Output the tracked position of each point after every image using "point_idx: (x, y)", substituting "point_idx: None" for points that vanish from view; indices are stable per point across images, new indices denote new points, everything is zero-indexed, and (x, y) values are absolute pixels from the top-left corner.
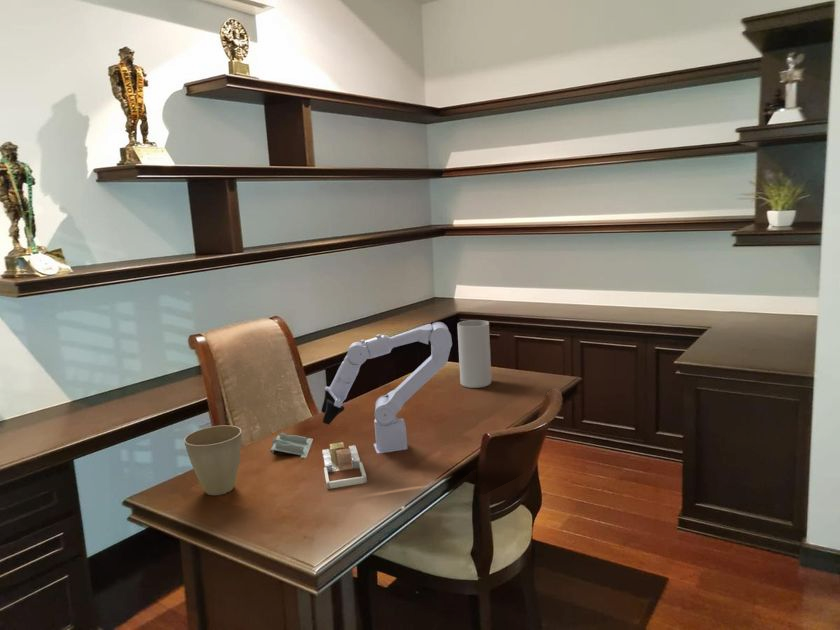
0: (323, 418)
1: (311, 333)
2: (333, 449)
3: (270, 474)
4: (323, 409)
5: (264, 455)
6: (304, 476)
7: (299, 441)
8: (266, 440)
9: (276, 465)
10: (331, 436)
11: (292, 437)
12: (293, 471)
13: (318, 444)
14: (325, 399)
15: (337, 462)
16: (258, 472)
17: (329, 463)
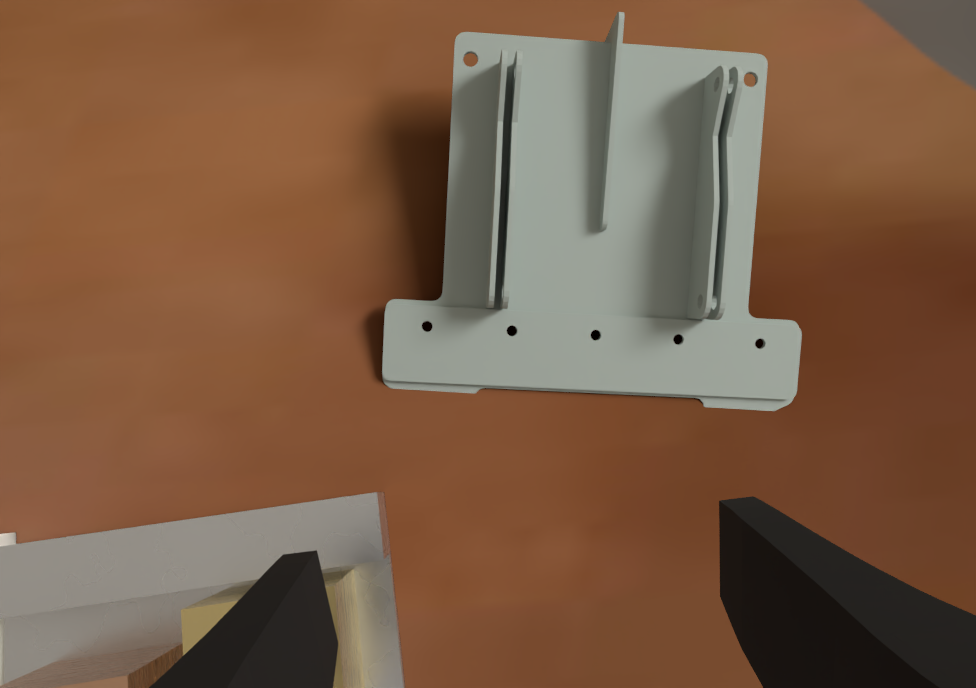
0: (264, 583)
1: None
2: (183, 639)
3: (177, 103)
4: (741, 546)
5: (550, 26)
6: (46, 362)
7: (692, 258)
8: (842, 10)
9: (334, 129)
10: (866, 535)
11: (708, 185)
12: (177, 266)
13: (697, 427)
14: (873, 653)
15: (85, 663)
16: (242, 19)
17: (6, 593)
